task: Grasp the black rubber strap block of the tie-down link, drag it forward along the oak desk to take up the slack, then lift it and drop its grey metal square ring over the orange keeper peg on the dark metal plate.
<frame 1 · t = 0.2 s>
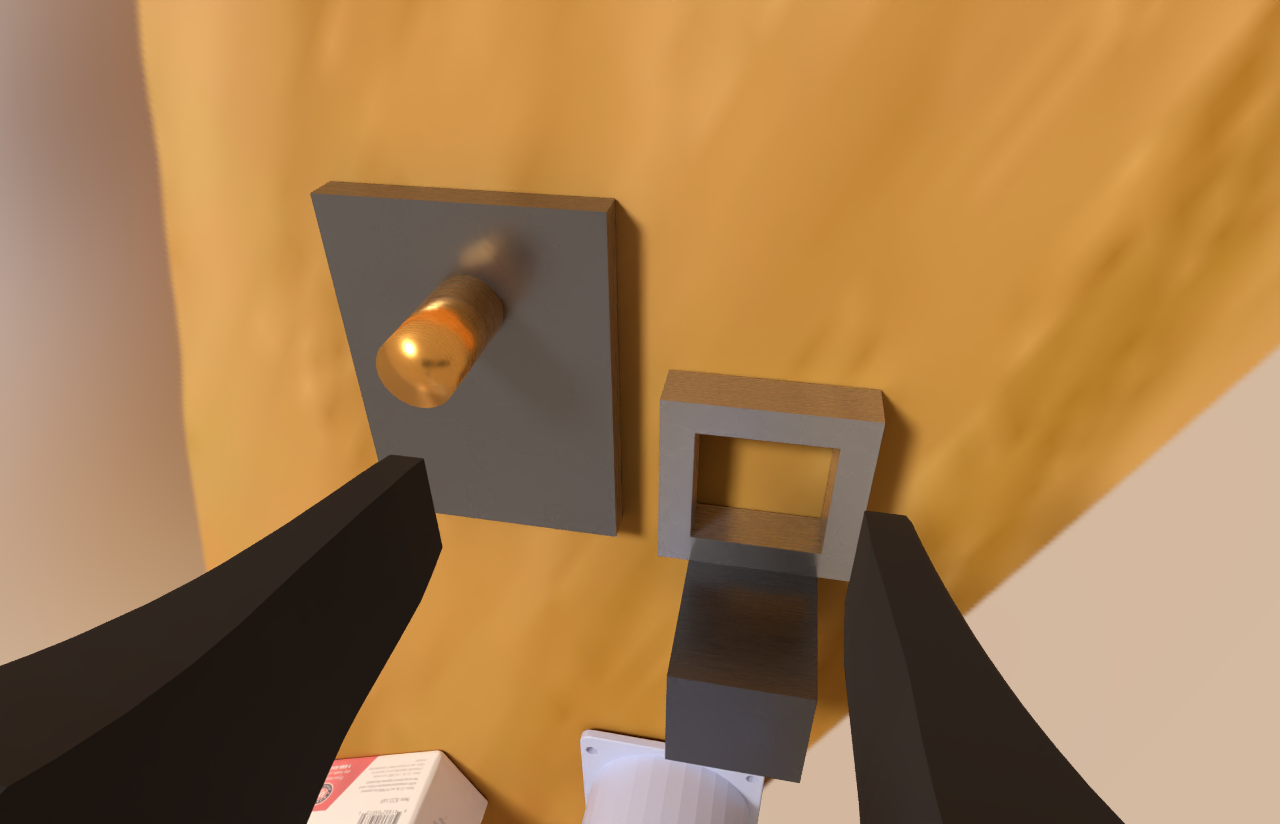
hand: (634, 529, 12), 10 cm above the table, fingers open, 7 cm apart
link: (750, 575, 26), on the table
keeper: (491, 366, 23), on the table
ink cartridge box: (405, 777, 40), on the table
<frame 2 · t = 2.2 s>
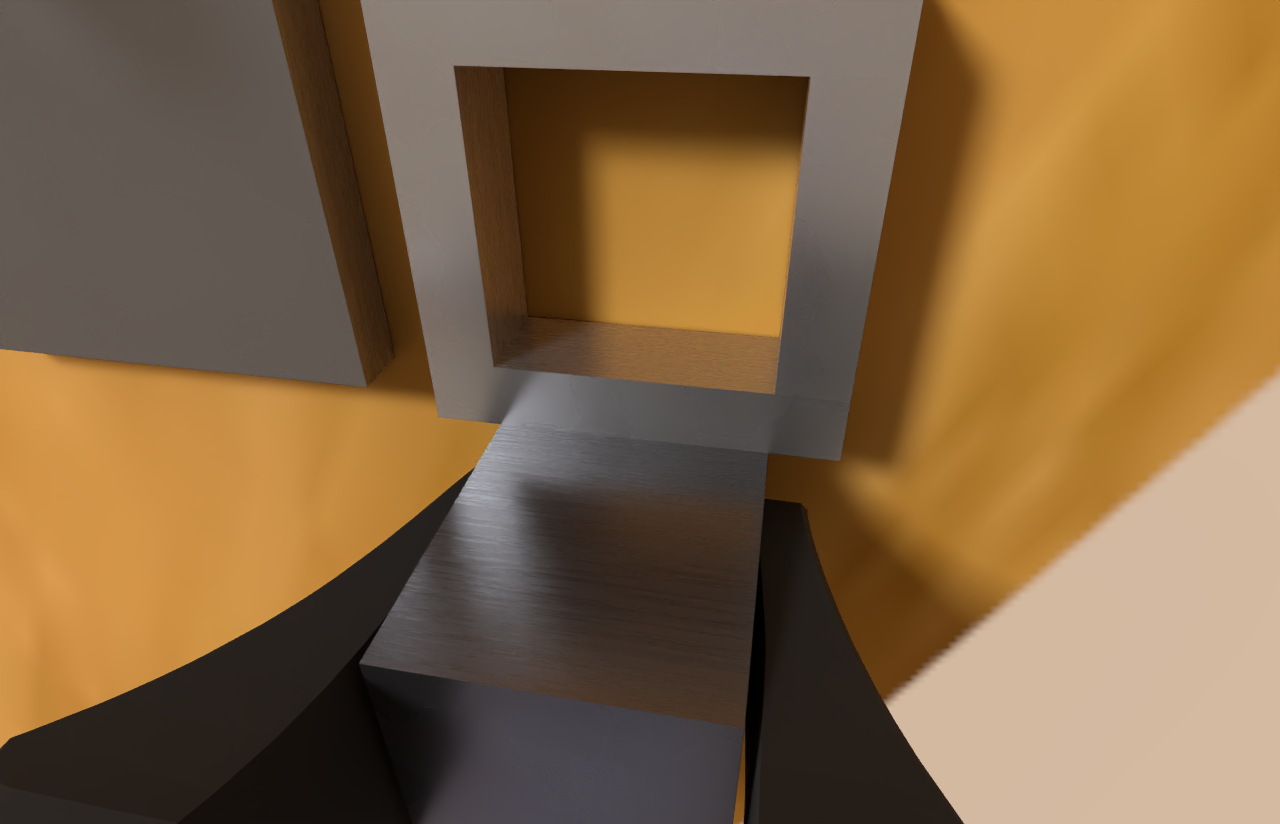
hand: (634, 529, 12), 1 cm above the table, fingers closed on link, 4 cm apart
link: (649, 476, 14), on the table, touching gripper
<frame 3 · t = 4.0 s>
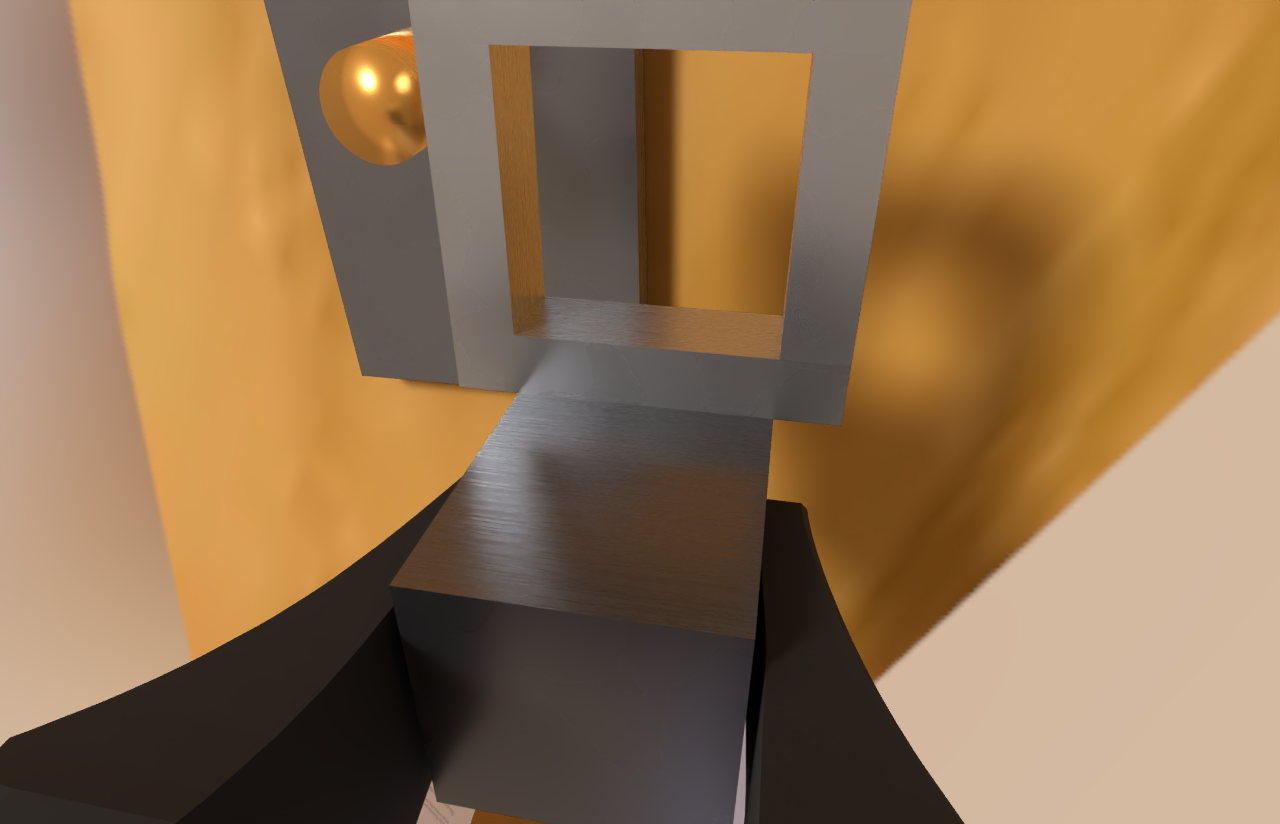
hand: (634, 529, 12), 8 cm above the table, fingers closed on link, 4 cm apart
link: (657, 455, 14), point 6 cm above the table, touching gripper
keeper: (483, 174, 18), on the table
ink cartridge box: (395, 739, 35), on the table
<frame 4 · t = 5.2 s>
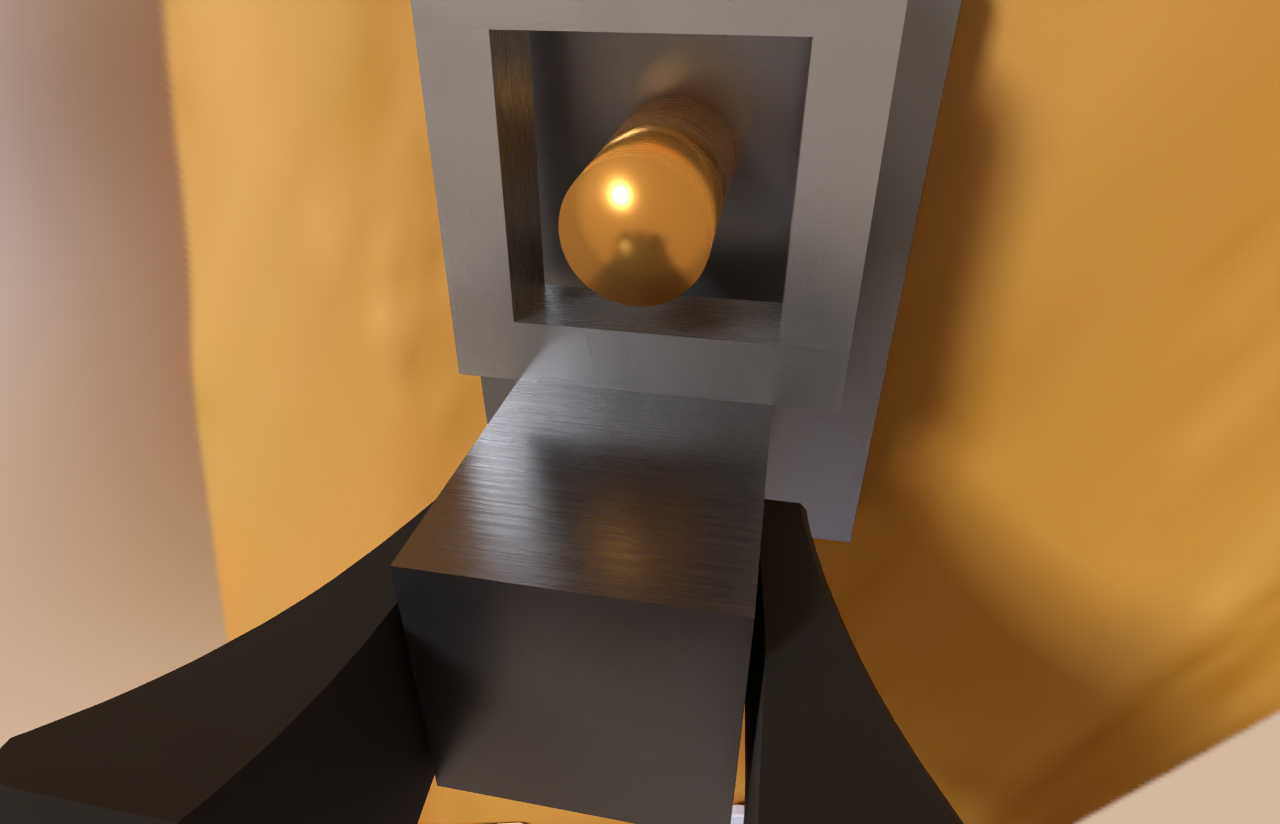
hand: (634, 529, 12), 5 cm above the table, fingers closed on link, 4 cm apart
link: (657, 444, 14), point 2 cm above the table, touching gripper
keeper: (680, 274, 15), on the table
when the fingers open (3 cm above the table, at t = 6.0 s): link stays where it is, resting on keeper.
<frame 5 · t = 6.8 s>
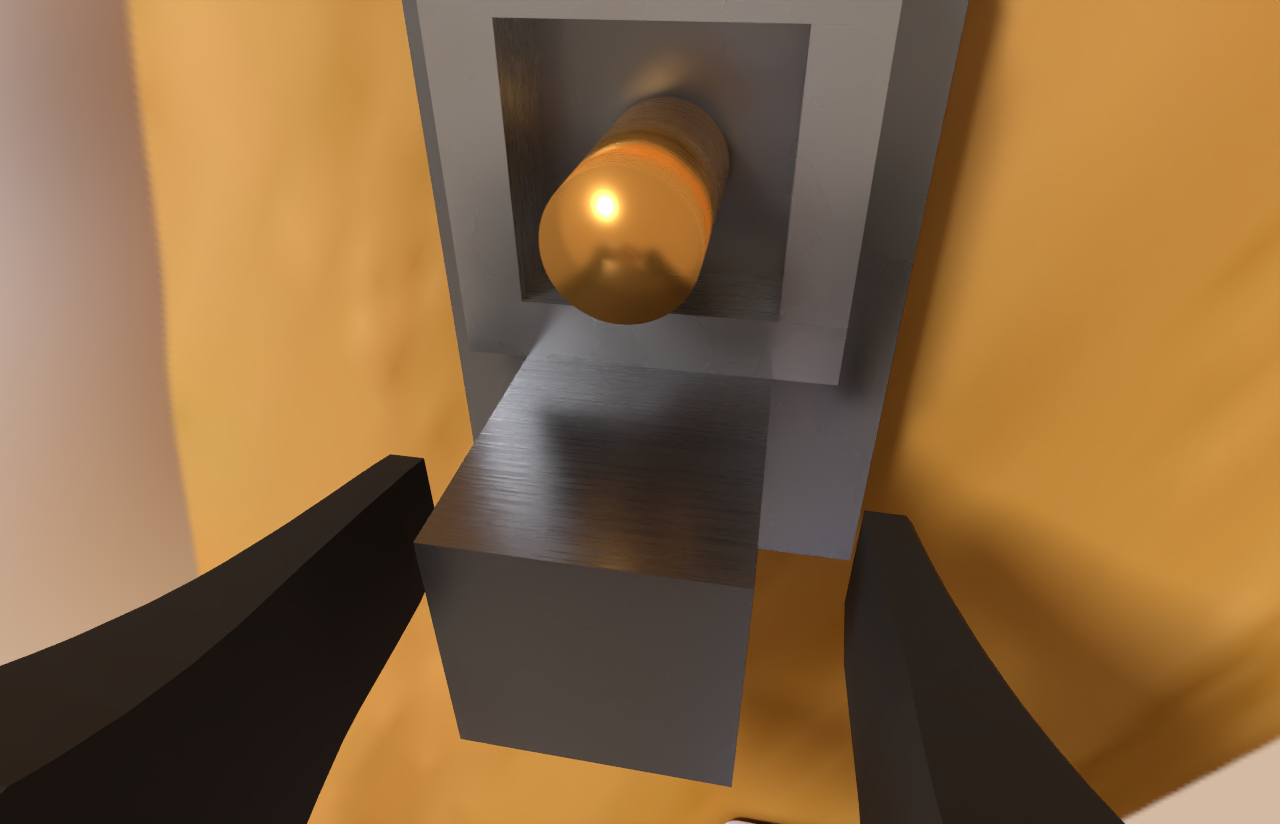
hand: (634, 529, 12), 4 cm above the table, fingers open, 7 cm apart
link: (661, 414, 15), point 1 cm above the table, touching keeper
keeper: (672, 283, 14), on the table
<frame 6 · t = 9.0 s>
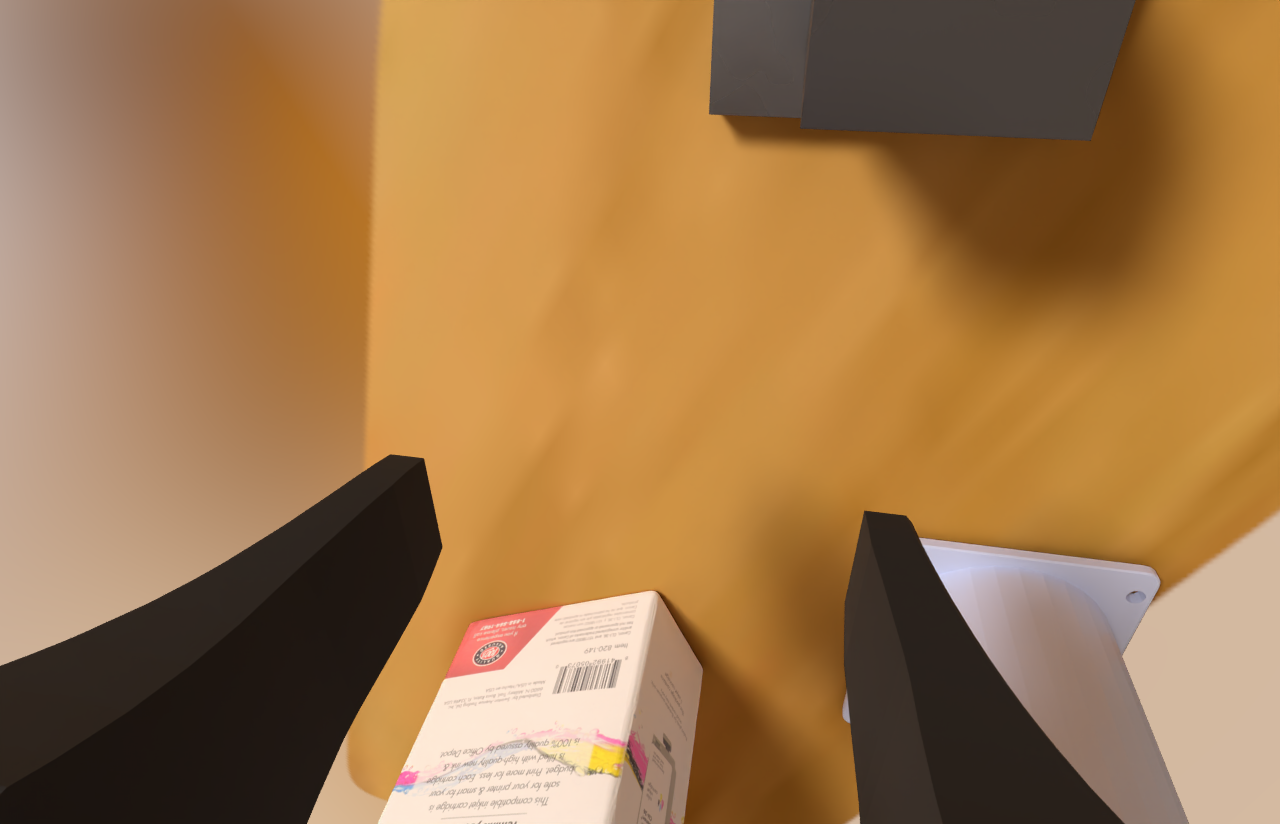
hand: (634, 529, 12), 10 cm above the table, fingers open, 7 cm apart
ink cartridge box: (589, 640, 30), on the table
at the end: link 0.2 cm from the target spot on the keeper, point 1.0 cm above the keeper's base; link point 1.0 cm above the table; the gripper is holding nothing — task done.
